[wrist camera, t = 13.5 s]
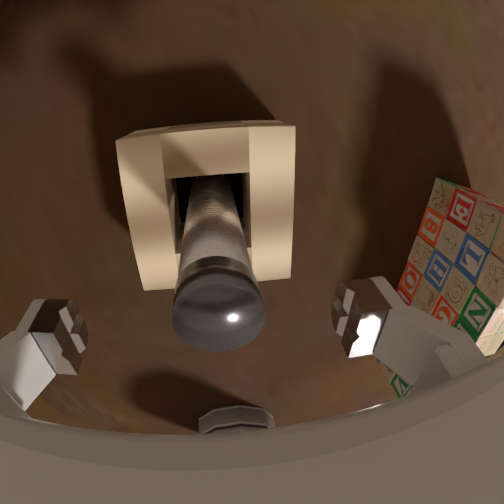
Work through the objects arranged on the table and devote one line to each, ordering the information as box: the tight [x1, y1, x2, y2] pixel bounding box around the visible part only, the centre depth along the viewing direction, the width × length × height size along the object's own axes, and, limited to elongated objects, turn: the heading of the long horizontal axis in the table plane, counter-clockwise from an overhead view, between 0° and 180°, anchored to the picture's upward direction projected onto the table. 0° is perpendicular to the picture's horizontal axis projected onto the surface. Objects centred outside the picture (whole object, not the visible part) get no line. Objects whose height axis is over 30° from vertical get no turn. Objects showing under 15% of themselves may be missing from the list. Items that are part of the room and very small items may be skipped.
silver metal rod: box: [172, 174, 265, 352], centre depth 16 cm, size 3×3×14 cm
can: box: [199, 405, 275, 434], centre depth 33 cm, size 11×11×12 cm
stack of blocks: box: [376, 178, 504, 398], centre depth 24 cm, size 21×6×12 cm, turn 172°
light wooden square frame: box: [115, 120, 295, 290], centre depth 20 cm, size 10×10×5 cm
